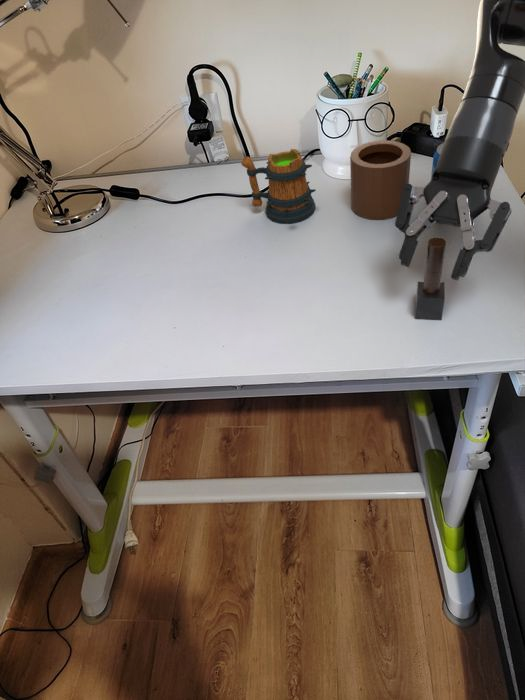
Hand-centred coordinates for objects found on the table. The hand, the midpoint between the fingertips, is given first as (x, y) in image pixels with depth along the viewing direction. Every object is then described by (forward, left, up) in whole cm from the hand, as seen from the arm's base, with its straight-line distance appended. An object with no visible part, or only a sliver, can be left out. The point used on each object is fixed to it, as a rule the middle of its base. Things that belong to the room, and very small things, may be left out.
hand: (429, 272), depth 67 cm
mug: (+26, -29, -9) cm, 40 cm away
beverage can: (-4, -27, -9) cm, 29 cm away
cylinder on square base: (-1, -2, -8) cm, 9 cm away
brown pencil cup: (+8, -31, -8) cm, 33 cm away
